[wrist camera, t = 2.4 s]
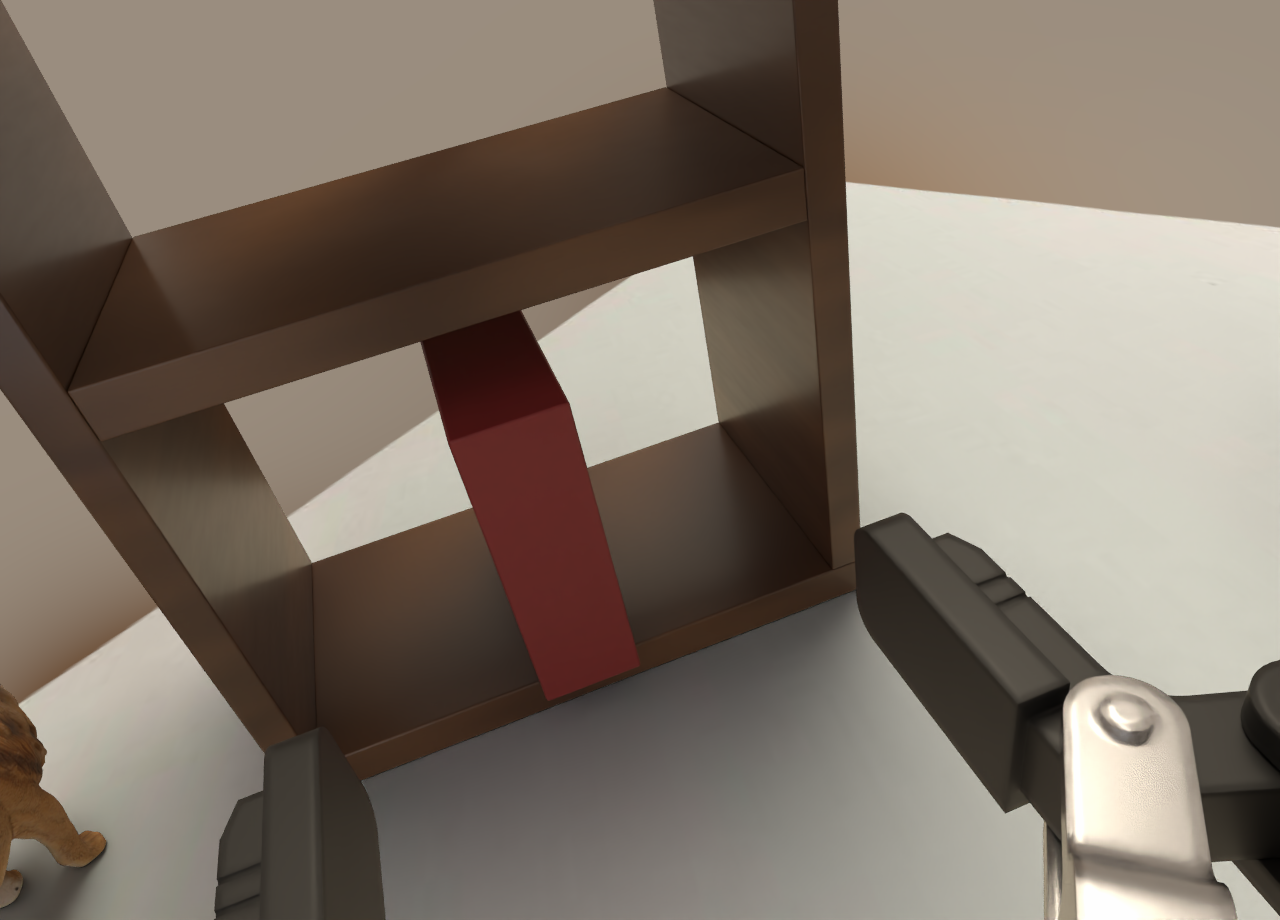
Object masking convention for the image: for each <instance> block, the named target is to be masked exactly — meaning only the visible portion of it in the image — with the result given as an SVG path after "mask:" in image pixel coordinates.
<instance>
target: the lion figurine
mask: <svg viewBox="0 0 1280 920" xmlns="http://www.w3.org/2000/svg"><path fill="white" fill-rule="evenodd" d="M46 754H47V750H46V749H45V748H44V746H43V744H42V743H41V742H40V741H39V740H38V739H37V732H36V728H35V726H34V725H33V723H32V722H31V721H30V719H29V718H28V717H27V716H26V714H25V713H24V712H23V711H22V710H21V708H20V707H19V705H18V702H17V700H16V699H15V697H14V696H12V694H10V693H9V692H8V691H6V690H5V689H4V687H3V686H2V685H1V684H0V908H1V907H4V906H7V905H9V904H11V903H12V902H13V901H14V900H15V899H16V898H17V897H18V895H19V893H20V891H21V888H22V885H23V877H22V875H21V873H20V872H19V871H17V870H10V871H7V870H6V868H7V864H8V859H9V854H10V846H11V841H12V840H13V839H17V838H18V839H35V840H37V841H39V842H40V843H42V844H43V845H44V846H46V848H47V849H48V850H49V851H50V852H51V854H52V855H53V857H54V858H55V860H56V862H57V863H59V864H60V865H62V866H70V867H82V866H85V865H87V864H88V863H89V862H91V861H92V860H93V859H94V858H96V857H97V856H98V855H99V854H100V853H101V852H102V851H103V849H104V847H105V844H106V840H105V838H104V837H103V836H102V834H101V833H99V832H92V831H84V832H83V833H81V834H80V835H78V833H77V831H76V829H75V827H74V826H73V824H72V823H71V822H70V820H69V818H68V816H67V814H66V812H65V810H64V808H63V807H62V805H61V804H60V803H59V801H58V800H57V799H56V798H55V797H54V796H52V795H51V794H49V793H48V792H46V791H45V790H43V789H42V788H41V787H40V786H39V783H40V781H41V778H42V772H43V770H42V766H43V765H44V763H45V755H46Z"/></svg>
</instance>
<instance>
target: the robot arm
mask: <svg viewBox="0 0 1280 920" xmlns="http://www.w3.org/2000/svg"><path fill="white" fill-rule="evenodd" d="M854 553H855V574H856V596H857V604H858V608H859V612H860V615H861V618H862V620H863V622H864V625H865V627H866V629H867V631H868V632H869V634H870V636H871V637H872V639H873V640H874V641H875V643H876V644H877V645H878V647H879V648H880V649H881V651H882V652H883V653H884V655H885V656H886V657H887V658H888V660H889V661H890V662H891V664H892V665H893V666H894V668H895V669H896V670H897V672H898V673H899V674H900V676H901V677H902V678H903V680H904V681H905V682H906V683H907V685H908V686H909V687H910V689H911V690H912V691H913V693H914V694H915V695H916V697H917V698H918V699H919V701H920V702H921V703H922V705H923V706H924V707H925V708H926V710H927V711H928V712H929V714H930V715H931V716H932V718H933V719H934V720H935V722H936V723H937V724H938V726H939V727H940V728H941V729H942V731H943V732H944V733H945V735H946V736H947V737H948V739H949V740H950V741H951V743H952V744H953V745H954V747H955V748H956V749H957V751H958V752H959V753H960V754H961V756H962V757H963V758H964V760H965V761H966V762H967V764H968V765H969V766H970V768H971V769H972V770H973V772H974V773H975V774H976V776H977V777H978V778H979V779H980V781H981V782H982V783H983V785H984V786H985V787H986V789H987V790H988V791H989V793H990V794H991V795H992V797H993V798H994V799H995V801H996V802H997V803H998V804H999V806H1000V807H1001V808H1002V810H1003V811H1004V812H1005V813H1007V812H1010V811H1012V810H1014V809H1016V808H1019V807H1021V806H1023V805H1026V804H1028V803H1031V804H1032V806H1033V807H1034V808H1035V809H1036V811H1037V812H1038V813H1039V814H1040V816H1041V817H1042V818H1043V819H1044V827H1043V864H1044V920H1237V915H1236V910H1235V905H1234V902H1233V898H1232V895H1231V893H1230V891H1229V889H1228V887H1227V886H1226V885H1225V884H1224V883H1220V882H1217V881H1216V879H1215V876H1214V873H1213V869H1212V864H1211V862H1220V861H1232V862H1233V863H1234V864H1235V865H1236V866H1237V868H1238V869H1239V870H1240V871H1241V872H1242V873H1243V874H1244V876H1245V877H1246V878H1247V879H1248V880H1249V881H1250V883H1251V884H1252V885H1253V886H1254V887H1255V888H1256V889H1257V891H1258V892H1259V893H1260V894H1261V895H1262V896H1263V897H1264V899H1265V900H1266V901H1267V902H1268V903H1269V904H1270V905H1271V907H1272V908H1273V909H1274V910H1275V911H1276V912H1277V913H1278V915H1279V916H1280V660H1278V661H1274V662H1271V663H1269V664H1267V665H1265V666H1263V667H1262V668H1260V669H1259V670H1258V671H1257V672H1256V673H1255V674H1254V676H1253V678H1252V680H1251V683H1250V686H1249V689H1248V691H1239V692H1227V693H1215V694H1204V695H1192V696H1169V695H1166V694H1165V693H1164V692H1162V691H1161V690H1159V689H1157V688H1156V687H1154V686H1152V685H1150V684H1148V683H1145V682H1143V681H1140V680H1137V679H1134V678H1130V677H1125V676H1116V675H1112V674H1110V673H1109V672H1108V671H1106V670H1105V669H1104V668H1103V667H1102V666H1101V665H1100V664H1099V663H1098V662H1097V661H1096V660H1095V659H1093V658H1092V657H1091V656H1090V655H1089V654H1088V653H1087V652H1086V651H1085V650H1084V649H1083V648H1082V647H1081V646H1080V645H1079V644H1078V643H1077V642H1076V641H1075V640H1074V639H1073V638H1072V637H1071V636H1070V635H1069V634H1068V633H1067V632H1066V631H1065V630H1064V629H1063V628H1062V627H1061V626H1060V625H1059V624H1058V623H1057V622H1056V621H1055V620H1054V619H1053V618H1052V617H1051V616H1049V615H1048V614H1047V613H1046V612H1045V611H1044V610H1043V609H1042V608H1041V607H1040V606H1039V605H1038V604H1037V603H1036V602H1035V601H1034V600H1033V599H1032V598H1031V597H1027V596H1026V594H1025V591H1024V590H1023V589H1022V588H1021V587H1020V586H1019V585H1018V584H1017V583H1016V582H1015V581H1014V580H1013V579H1012V578H1011V577H1010V578H1008V577H1007V576H1006V573H1005V572H1004V571H1003V570H1002V569H1001V568H1000V567H999V566H998V565H997V564H996V563H995V562H994V561H993V560H992V559H991V558H990V557H989V556H988V555H987V554H986V553H985V552H984V551H983V550H982V549H980V548H978V547H976V546H974V545H972V544H970V543H968V542H966V541H964V540H962V539H960V538H958V537H956V536H954V535H951V534H949V533H946V534H943V535H941V536H938V537H936V538H933V539H932V538H931V537H930V536H929V535H928V534H927V533H926V532H925V531H924V530H923V529H922V528H921V527H920V526H919V525H918V524H917V523H916V522H915V521H914V520H913V519H912V518H911V517H910V516H909V515H907V514H905V513H899V514H897V515H894V516H891V517H888V518H886V519H883V520H880V521H878V522H875V523H872V524H870V525H867V526H864V527H862V528H859V529H857V530H856V531H855V534H854ZM217 880H218V886H217V887H216V897H215V910H214V911H215V913H216V919H214V920H386V919H385V908H384V897H383V885H382V874H381V863H380V852H379V841H378V831H377V824H376V819H375V815H374V811H373V808H372V805H371V802H370V799H369V797H368V794H367V792H366V790H365V788H364V786H363V785H362V783H361V781H360V780H359V778H358V777H357V775H356V773H355V772H354V770H353V769H352V767H351V765H350V764H349V762H348V761H347V759H346V757H345V756H344V754H343V753H342V751H341V749H340V748H339V746H338V745H337V743H336V741H335V740H334V738H333V737H332V735H331V733H330V732H329V731H328V730H327V728H325V727H323V726H322V727H319V728H317V729H314V730H311V731H309V732H306V733H303V734H300V735H298V736H295V737H292V738H290V739H287V740H284V741H282V742H279V743H276V744H274V745H271V746H269V747H268V748H267V749H266V752H265V758H264V786H263V791H261V792H258V793H256V794H253V795H250V796H248V797H245V798H243V799H240V800H238V801H237V804H236V806H235V808H234V810H233V812H232V815H231V817H230V819H229V821H228V823H227V825H226V828H225V830H224V832H223V834H222V836H221V839H220V843H219V857H218V870H217Z"/></svg>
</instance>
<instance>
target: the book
mask: <svg viewBox="0 0 1280 920" xmlns="http://www.w3.org/2000/svg"><path fill="white" fill-rule="evenodd" d="M421 345H422V349H423V353H424V356H425V360H426V363H427V367H428V371H429V375H430V378H431V382H432V386H433V389H434V393H435V397H436V400H437V404H438V408H439V411H440V415H441V419H442V423H443V426H444V430H445V434H446V437H447V441H448V444H449V447H450V450H451V452H452V455H453V457H454V460H455V463H456V465H457V468H458V470H459V473H460V476H461V478H462V481H463V483H464V486H465V489H466V491H467V494H468V496H469V499H470V502H471V504H472V507H473V510H474V512H475V515H476V517H477V520H478V523H479V525H480V528H481V530H482V533H483V536H484V538H485V541H486V543H487V546H488V549H489V551H490V554H491V556H492V559H493V562H494V564H495V567H496V569H497V572H498V575H499V577H500V580H501V583H502V585H503V588H504V590H505V593H506V596H507V598H508V601H509V603H510V606H511V609H512V611H513V614H514V616H515V619H516V622H517V624H518V627H519V629H520V632H521V635H522V637H523V640H524V643H525V645H526V648H527V650H528V653H529V656H530V658H531V661H532V663H533V666H534V669H535V671H536V674H537V676H538V679H539V682H540V684H541V687H542V689H543V692H544V695H545V697H546V699H547V700H548V701H550V700H553V699H556V698H558V697H561V696H563V695H566V694H569V693H571V692H574V691H576V690H579V689H582V688H584V687H587V686H589V685H592V684H595V683H597V682H600V681H602V680H605V679H608V678H610V677H613V676H615V675H618V674H621V673H623V672H626V671H628V670H631V669H634V668H636V667H639V666H640V660H639V656H638V653H637V649H636V645H635V642H634V638H633V634H632V631H631V627H630V623H629V620H628V616H627V612H626V609H625V605H624V601H623V598H622V594H621V590H620V587H619V583H618V579H617V576H616V572H615V568H614V565H613V561H612V557H611V554H610V550H609V546H608V543H607V539H606V535H605V532H604V528H603V525H602V521H601V517H600V514H599V510H598V506H597V503H596V499H595V495H594V492H593V488H592V484H591V481H590V477H589V473H588V470H587V466H586V462H585V459H584V455H583V451H582V448H581V444H580V440H579V437H578V433H577V429H576V426H575V422H574V418H573V415H572V411H571V407H570V404H569V402H568V400H567V398H566V396H565V394H564V392H563V390H562V388H561V386H560V384H559V382H558V381H557V379H556V377H555V375H554V373H553V371H552V369H551V367H550V365H549V363H548V361H547V359H546V357H545V355H544V354H543V352H542V350H541V348H540V346H539V344H538V342H537V340H536V338H535V336H534V334H533V332H532V330H531V328H530V327H529V325H528V323H527V321H526V319H525V317H524V315H523V313H522V311H521V310H519V311H516V312H513V313H510V314H507V315H504V316H500V317H497V318H494V319H491V320H488V321H484V322H481V323H478V324H475V325H472V326H468V327H465V328H462V329H459V330H456V331H453V332H449V333H446V334H443V335H440V336H437V337H433V338H430V339H427V340H424V341H421Z"/></svg>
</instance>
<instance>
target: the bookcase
mask: <svg viewBox="0 0 1280 920" xmlns="http://www.w3.org/2000/svg"><path fill="white" fill-rule="evenodd" d="M653 1H654V7H655V13H656V20H657V26H658V33H659V39H660V45H661V52H662V59H663V65H664V72H665V78H666V85H667V88H666V87H665V88H661V89H658V90H654V91H650V92H647V93H643V94H640V95H636V96H633V97H629V98H626V99H622V100H619V101H615V102H611V103H608V104H604V105H601V106H598V107H594V108H590V109H587V110H583V111H579V112H576V113H572V114H569V115H565V116H562V117H558V118H555V119H551V120H548V121H544V122H541V123H537V124H534V125H530V126H526V127H523V128H519V129H516V130H512V131H509V132H505V133H502V134H498V135H494V136H491V137H487V138H484V139H480V140H476V141H473V142H469V143H466V144H462V145H459V146H455V147H452V148H448V149H444V150H441V151H437V152H434V153H430V154H427V155H423V156H420V157H416V158H412V159H409V160H405V161H402V162H398V163H395V164H391V165H388V166H384V167H381V168H377V169H373V170H370V171H366V172H363V173H359V174H356V175H352V176H349V177H345V178H342V179H338V180H334V181H331V182H327V183H324V184H320V185H317V186H314V187H309V188H306V189H302V190H299V191H296V192H292V193H288V194H285V195H281V196H277V197H274V198H270V199H267V200H263V201H260V202H256V203H253V204H249V205H246V206H242V207H238V208H235V209H232V210H228V211H224V212H221V213H217V214H214V215H210V216H207V217H203V218H200V219H196V220H192V221H189V222H185V223H182V224H178V225H175V226H171V227H167V228H164V229H161V230H157V231H153V232H150V233H146V234H143V235H139V236H135V237H133V238H132V236H131V235H130V233H129V231H128V229H127V227H126V226H125V224H124V222H123V220H122V218H121V217H120V215H119V213H118V211H117V209H116V208H115V206H114V204H113V202H112V200H111V198H110V197H109V195H108V193H107V191H106V189H105V188H104V186H103V184H102V182H101V180H100V179H99V177H98V175H97V173H96V171H95V170H94V168H93V166H92V164H91V162H90V161H89V159H88V157H87V155H86V153H85V151H84V150H83V148H82V146H81V144H80V142H79V141H78V139H77V138H76V135H75V133H74V132H73V130H72V128H71V126H70V124H69V122H68V121H67V119H66V117H65V115H64V113H63V112H62V110H61V108H60V106H59V104H58V103H57V101H56V99H55V97H54V95H53V94H52V92H51V90H50V88H49V86H48V85H47V83H46V81H45V79H44V77H43V75H42V74H41V72H40V70H39V68H38V66H37V65H36V63H35V61H34V59H33V57H32V56H31V54H30V52H29V50H28V48H27V46H26V45H25V43H24V41H23V39H22V37H21V36H20V34H19V32H18V30H17V28H16V27H15V25H14V23H13V21H12V20H11V18H10V16H9V14H8V12H7V10H6V9H5V7H4V5H3V3H2V1H1V0H0V389H1V391H2V392H3V393H4V395H5V396H6V397H7V399H8V400H9V402H10V403H11V404H12V406H13V407H14V408H15V410H16V411H17V413H18V414H19V415H20V417H21V418H22V420H23V421H24V422H25V424H26V425H27V426H28V428H29V429H30V431H31V432H32V433H33V435H34V436H35V437H36V439H37V440H38V442H39V443H40V444H41V446H42V447H43V449H44V450H45V451H46V453H47V454H48V455H49V457H50V458H51V460H52V461H53V462H54V464H55V465H56V466H57V468H58V469H59V471H60V472H61V473H62V475H63V476H64V477H65V479H66V480H67V482H68V483H69V484H70V486H71V487H72V488H73V490H74V491H75V493H76V494H77V495H78V497H79V498H80V500H81V501H82V502H83V504H84V505H85V506H86V508H87V509H88V511H89V512H90V513H91V514H92V516H93V517H94V519H95V520H96V522H97V523H98V524H99V526H100V527H101V528H102V530H103V531H104V533H105V534H106V535H107V537H108V538H109V540H110V541H111V542H112V544H113V545H114V547H115V548H116V549H117V551H118V552H119V553H120V555H121V556H122V558H123V559H124V560H125V562H126V563H127V564H128V566H129V567H130V569H131V570H132V571H133V573H134V574H135V575H136V577H137V578H138V579H139V581H140V582H141V584H142V585H143V587H144V588H145V589H146V591H147V592H148V593H149V595H150V596H151V598H152V599H153V600H154V602H155V603H156V604H157V606H158V607H159V609H160V610H161V611H162V613H163V614H164V615H165V617H166V618H167V620H168V621H169V622H170V624H171V625H172V627H173V628H174V629H175V631H176V632H177V633H178V635H179V636H180V638H181V639H182V640H183V642H184V643H185V644H186V646H187V647H188V649H189V650H190V651H191V653H192V654H193V656H194V657H195V658H196V660H197V661H198V662H199V664H200V665H201V667H202V668H203V669H204V671H205V672H206V673H207V675H208V676H209V678H210V679H211V680H212V682H213V683H214V684H215V686H216V687H217V689H218V690H219V691H220V693H221V694H222V696H223V697H224V698H225V700H226V701H227V702H228V704H229V705H230V707H231V708H232V709H233V711H234V712H235V713H236V715H237V716H238V718H239V719H240V720H241V722H242V723H243V724H244V726H245V727H246V729H247V730H248V731H249V733H250V734H251V736H252V737H253V738H254V740H255V741H256V742H257V744H258V745H259V747H260V748H261V749H262V751H263V752H264V753H265V752H266V749H267V748H268V747H269V746H271V745H274V744H276V743H279V742H282V741H284V740H287V739H290V738H292V737H295V736H298V735H300V734H303V733H306V732H309V731H311V730H314V729H317V728H319V727H322V726H323V727H325V728H327V730H328V731H329V732H330V733H331V735H332V737H333V738H334V740H335V741H336V743H337V745H338V746H339V748H340V749H341V751H342V753H343V754H344V756H345V757H346V759H347V761H348V762H349V764H350V765H351V767H352V769H353V770H354V772H355V773H356V775H357V777H358V778H359V780H360V781H361V780H363V779H366V778H369V777H371V776H374V775H376V774H379V773H382V772H384V771H387V770H389V769H392V768H395V767H397V766H400V765H402V764H405V763H408V762H410V761H413V760H415V759H418V758H420V757H423V756H426V755H428V754H431V753H433V752H436V751H439V750H441V749H444V748H446V747H449V746H452V745H454V744H457V743H459V742H462V741H465V740H467V739H470V738H472V737H475V736H478V735H480V734H483V733H485V732H488V731H490V730H493V729H496V728H498V727H501V726H503V725H506V724H509V723H511V722H514V721H516V720H519V719H522V718H524V717H527V716H529V715H532V714H535V713H537V712H540V711H542V710H545V709H547V708H550V707H553V706H555V705H558V704H560V703H563V702H566V701H568V700H571V699H573V698H576V697H579V696H581V695H584V694H586V693H589V692H592V691H594V690H597V689H599V688H602V687H604V686H607V685H610V684H612V683H615V682H617V681H620V680H623V679H625V678H628V677H630V676H633V675H636V674H638V673H641V672H643V671H646V670H649V669H651V668H654V667H656V666H659V665H662V664H664V663H667V662H669V661H672V660H674V659H677V658H680V657H682V656H685V655H687V654H690V653H693V652H695V651H698V650H700V649H703V648H706V647H708V646H711V645H713V644H716V643H719V642H721V641H724V640H726V639H729V638H731V637H734V636H737V635H739V634H742V633H744V632H747V631H750V630H752V629H755V628H757V627H760V626H763V625H765V624H768V623H770V622H773V621H776V620H778V619H781V618H783V617H786V616H788V615H791V614H794V613H796V612H799V611H801V610H804V609H807V608H809V607H812V606H814V605H817V604H820V603H822V602H825V601H827V600H830V599H833V598H835V597H838V596H840V595H843V594H845V593H848V592H851V591H853V590H856V574H855V553H854V534H855V531H856V530H857V529H859V528H860V514H859V490H858V466H857V443H856V419H855V395H854V372H853V348H852V324H851V300H850V277H849V253H848V229H847V206H846V182H845V161H844V160H845V159H844V135H843V113H842V112H843V111H842V89H841V88H842V87H841V64H840V40H839V17H838V0H653ZM692 256H693V259H694V266H695V272H696V279H697V285H698V292H699V298H700V304H701V311H702V317H703V324H704V330H705V337H706V343H707V350H708V356H709V363H710V369H711V376H712V382H713V389H714V395H715V401H716V408H717V414H718V421H719V423H716V424H713V425H710V426H707V427H705V428H702V429H699V430H696V431H693V432H690V433H687V434H684V435H681V436H679V437H676V438H673V439H670V440H667V441H664V442H661V443H658V444H655V445H652V446H650V447H647V448H644V449H641V450H638V451H635V452H632V453H629V454H626V455H624V456H621V457H618V458H615V459H612V460H609V461H606V462H603V463H600V464H597V465H595V466H592V467H589V468H587V470H588V473H589V477H590V481H591V484H592V488H593V492H594V495H595V499H596V503H597V506H598V510H599V514H600V517H601V521H602V525H603V528H604V532H605V535H606V539H607V543H608V546H609V550H610V554H611V557H612V561H613V565H614V568H615V572H616V576H617V579H618V583H619V587H620V590H621V594H622V598H623V601H624V605H625V609H626V612H627V616H628V620H629V623H630V627H631V631H632V634H633V638H634V642H635V645H636V649H637V653H638V656H639V660H640V666H639V667H636V668H634V669H631V670H628V671H626V672H623V673H621V674H618V675H615V676H613V677H610V678H608V679H605V680H602V681H600V682H597V683H595V684H592V685H589V686H587V687H584V688H582V689H579V690H576V691H574V692H571V693H569V694H566V695H563V696H561V697H558V698H556V699H553V700H550V701H548V700H547V699H546V697H545V695H544V692H543V689H542V687H541V684H540V682H539V679H538V676H537V674H536V671H535V669H534V666H533V663H532V661H531V658H530V656H529V653H528V650H527V648H526V645H525V643H524V640H523V637H522V635H521V632H520V629H519V627H518V624H517V622H516V619H515V616H514V614H513V611H512V609H511V606H510V603H509V601H508V598H507V596H506V593H505V590H504V588H503V585H502V583H501V580H500V577H499V575H498V572H497V569H496V567H495V564H494V562H493V559H492V556H491V554H490V551H489V549H488V546H487V543H486V541H485V538H484V536H483V533H482V530H481V528H480V525H479V523H478V520H477V517H476V515H475V512H474V510H473V508H470V509H467V510H464V511H462V512H459V513H456V514H453V515H450V516H447V517H444V518H441V519H438V520H435V521H433V522H430V523H427V524H424V525H421V526H418V527H415V528H412V529H409V530H407V531H404V532H401V533H398V534H395V535H392V536H389V537H386V538H383V539H380V540H378V541H375V542H372V543H369V544H366V545H363V546H360V547H357V548H354V549H352V550H349V551H346V552H343V553H340V554H337V555H334V556H331V557H328V558H326V559H323V560H320V561H317V562H314V563H311V560H310V559H309V557H308V555H307V553H306V551H305V550H304V548H303V546H302V544H301V542H300V541H299V539H298V537H297V535H296V533H295V531H294V530H293V528H292V526H291V524H290V522H289V521H288V519H287V517H286V515H285V513H284V512H283V510H282V508H281V506H280V504H279V503H278V501H277V499H276V497H275V495H274V494H273V492H272V490H271V488H270V486H269V484H268V483H267V481H266V479H265V477H264V475H263V474H262V472H261V470H260V468H259V466H258V465H257V463H256V461H255V459H254V457H253V455H252V454H251V452H250V450H249V448H248V446H247V445H246V443H245V441H244V439H243V438H242V436H241V434H240V432H239V430H238V428H237V427H236V425H235V423H234V421H233V419H232V417H231V416H230V414H229V412H228V410H227V409H226V407H225V405H224V403H226V402H229V401H232V400H235V399H239V398H242V397H245V396H248V395H252V394H254V393H258V392H261V391H264V390H268V389H271V388H274V387H277V386H280V385H283V384H287V383H290V382H293V381H296V380H299V379H303V378H306V377H309V376H312V375H315V374H319V373H322V372H325V371H328V370H331V369H335V368H338V367H341V366H344V365H347V364H351V363H353V362H357V361H360V360H363V359H366V358H369V357H373V356H376V355H379V354H382V353H386V352H389V351H392V350H395V349H398V348H402V347H404V346H408V345H411V344H414V343H417V342H421V341H424V340H427V339H430V338H433V337H437V336H440V335H443V334H446V333H449V332H453V331H456V330H459V329H462V328H465V327H468V326H472V325H475V324H478V323H481V322H484V321H488V320H491V319H494V318H497V317H500V316H504V315H507V314H510V313H513V312H516V311H519V310H522V309H526V308H529V307H532V306H535V305H538V304H542V303H545V302H548V301H551V300H555V299H558V298H561V297H564V296H567V295H570V294H573V293H577V292H580V291H583V290H586V289H589V288H593V287H596V286H599V285H602V284H605V283H609V282H612V281H615V280H618V279H622V278H625V277H628V276H631V275H634V274H637V273H641V272H644V271H647V270H650V269H653V268H657V267H660V266H663V265H666V264H669V263H673V262H676V261H679V260H682V259H685V258H688V257H692Z"/></svg>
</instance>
